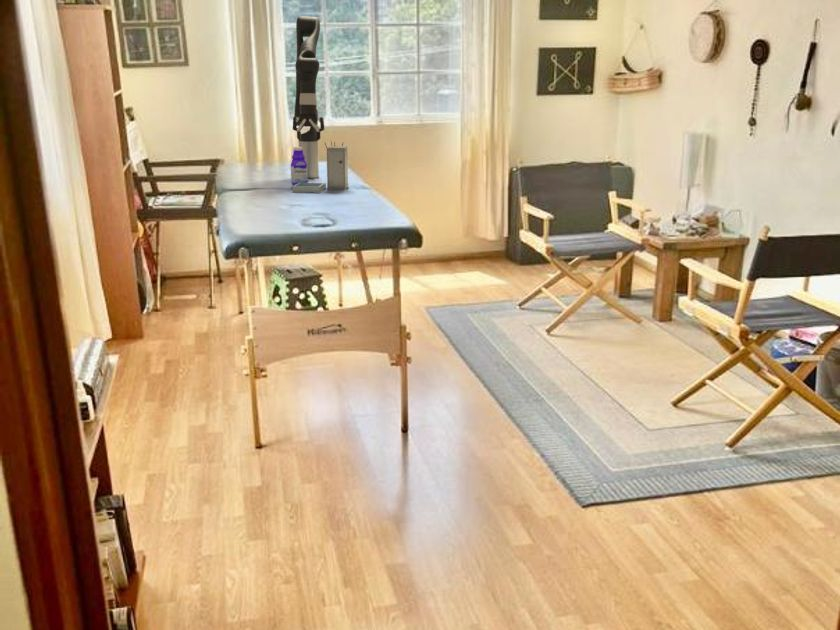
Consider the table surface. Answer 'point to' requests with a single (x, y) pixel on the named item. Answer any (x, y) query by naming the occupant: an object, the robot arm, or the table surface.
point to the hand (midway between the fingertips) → (308, 140)
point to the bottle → (298, 167)
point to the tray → (309, 187)
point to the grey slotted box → (337, 167)
